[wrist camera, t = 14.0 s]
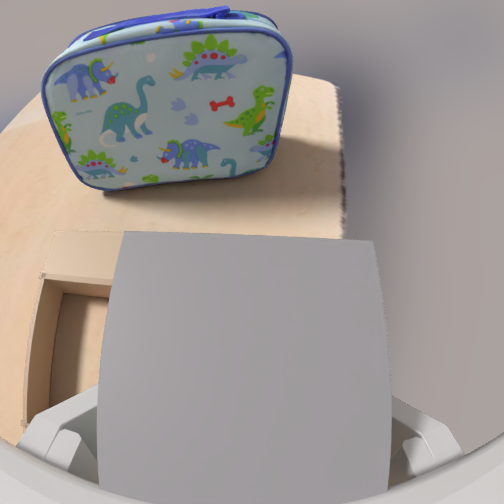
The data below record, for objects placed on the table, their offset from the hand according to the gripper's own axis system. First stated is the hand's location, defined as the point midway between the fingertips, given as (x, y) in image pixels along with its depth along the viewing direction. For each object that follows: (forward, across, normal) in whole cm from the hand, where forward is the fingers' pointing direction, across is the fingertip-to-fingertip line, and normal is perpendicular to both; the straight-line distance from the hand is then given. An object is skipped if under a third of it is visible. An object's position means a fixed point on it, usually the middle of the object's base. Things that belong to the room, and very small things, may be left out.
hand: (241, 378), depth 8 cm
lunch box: (+32, -9, +6) cm, 34 cm away
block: (+4, 0, -5) cm, 6 cm away
